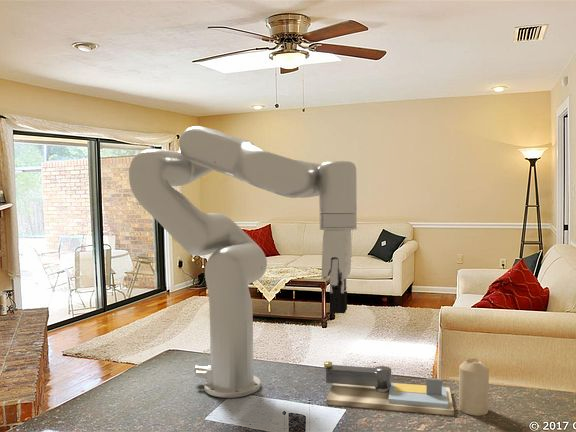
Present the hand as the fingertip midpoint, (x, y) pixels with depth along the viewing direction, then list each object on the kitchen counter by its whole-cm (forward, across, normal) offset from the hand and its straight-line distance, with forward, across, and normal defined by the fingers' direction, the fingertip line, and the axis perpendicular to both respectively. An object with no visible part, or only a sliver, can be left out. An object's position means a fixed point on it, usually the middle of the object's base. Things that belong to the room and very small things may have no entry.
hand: (338, 311), depth 105 cm
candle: (+19, -2, +27) cm, 33 cm away
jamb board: (+19, -4, +10) cm, 22 cm away
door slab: (+18, -4, +16) cm, 24 cm away
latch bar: (+17, -6, +3) cm, 18 cm away
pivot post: (+19, -6, +9) cm, 22 cm away
